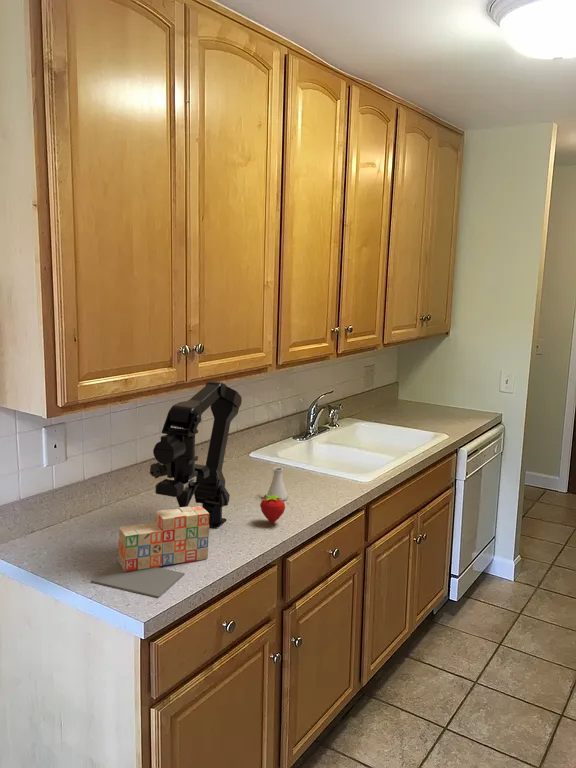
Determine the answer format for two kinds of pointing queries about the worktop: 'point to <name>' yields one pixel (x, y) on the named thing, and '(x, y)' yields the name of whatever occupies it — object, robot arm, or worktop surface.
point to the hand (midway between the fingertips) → (183, 510)
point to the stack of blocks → (165, 539)
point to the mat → (139, 579)
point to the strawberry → (272, 508)
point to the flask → (278, 485)
